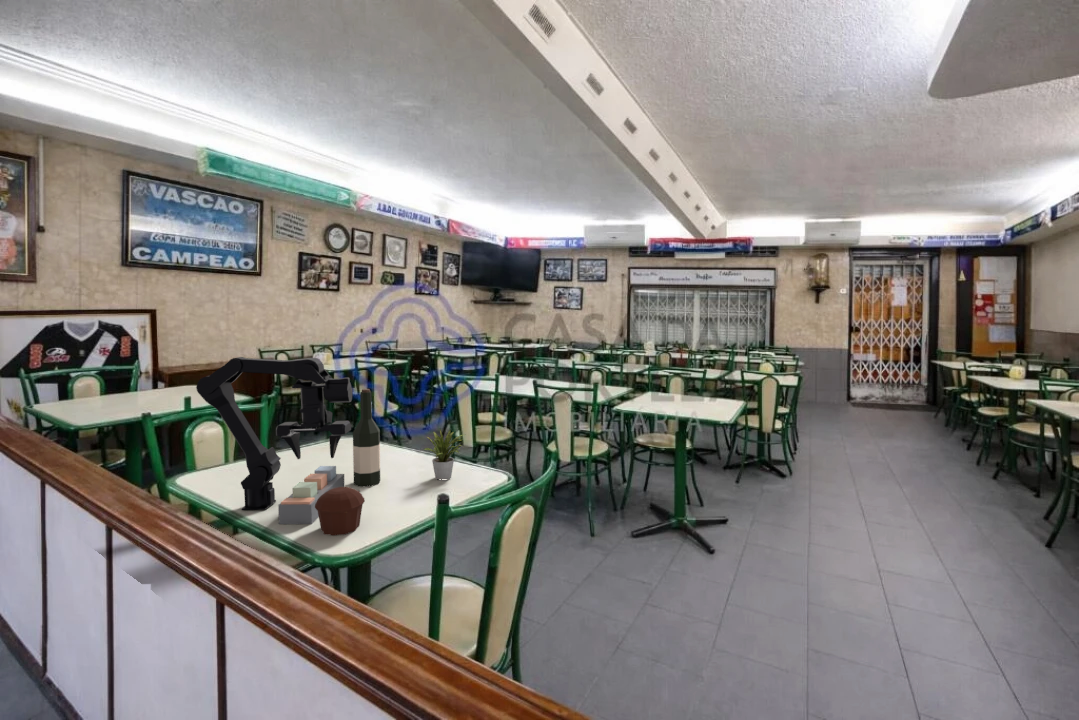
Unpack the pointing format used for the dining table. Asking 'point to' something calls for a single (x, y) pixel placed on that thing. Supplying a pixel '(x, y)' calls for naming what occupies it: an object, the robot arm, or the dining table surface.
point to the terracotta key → (317, 480)
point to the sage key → (305, 490)
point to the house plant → (443, 455)
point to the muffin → (339, 510)
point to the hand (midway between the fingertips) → (315, 458)
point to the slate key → (327, 471)
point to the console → (305, 505)
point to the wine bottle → (366, 445)
